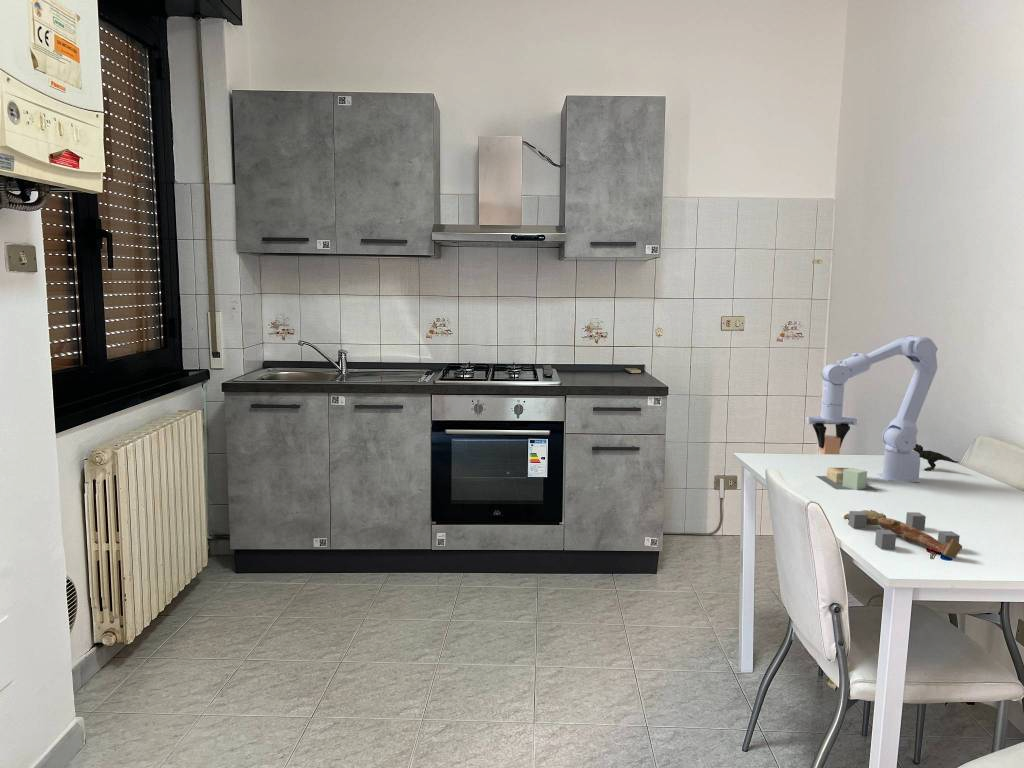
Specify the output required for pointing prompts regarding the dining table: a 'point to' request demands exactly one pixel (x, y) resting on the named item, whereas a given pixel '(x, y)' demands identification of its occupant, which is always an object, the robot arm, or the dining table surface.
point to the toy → (931, 457)
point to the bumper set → (887, 537)
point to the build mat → (839, 485)
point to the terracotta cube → (831, 445)
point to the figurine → (911, 533)
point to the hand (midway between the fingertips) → (829, 447)
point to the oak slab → (835, 474)
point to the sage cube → (854, 478)
